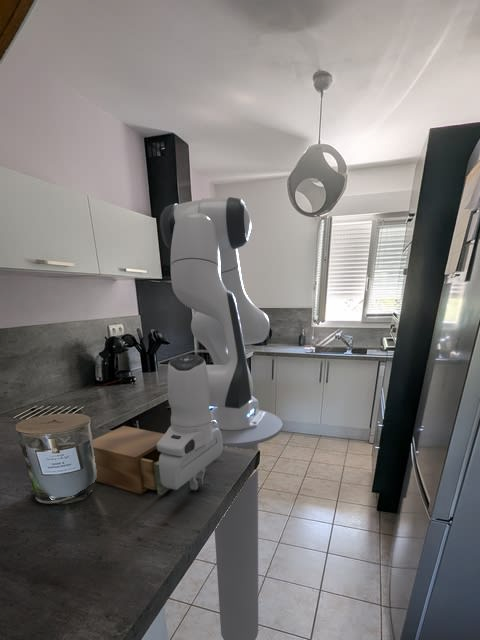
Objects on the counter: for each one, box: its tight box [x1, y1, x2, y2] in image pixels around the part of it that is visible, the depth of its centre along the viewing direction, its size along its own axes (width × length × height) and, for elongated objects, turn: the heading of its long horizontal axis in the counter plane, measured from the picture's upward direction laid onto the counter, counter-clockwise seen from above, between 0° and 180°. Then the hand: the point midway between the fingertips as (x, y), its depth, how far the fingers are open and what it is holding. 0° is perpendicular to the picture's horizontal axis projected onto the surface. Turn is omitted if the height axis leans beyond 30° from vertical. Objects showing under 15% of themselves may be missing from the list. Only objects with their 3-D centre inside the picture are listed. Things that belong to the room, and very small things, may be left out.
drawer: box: [138, 448, 170, 496], centre depth 86 cm, size 20×12×8 cm, turn 64°
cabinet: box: [91, 425, 165, 495], centre depth 89 cm, size 17×14×10 cm
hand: (196, 486), depth 83 cm, fingers closed
